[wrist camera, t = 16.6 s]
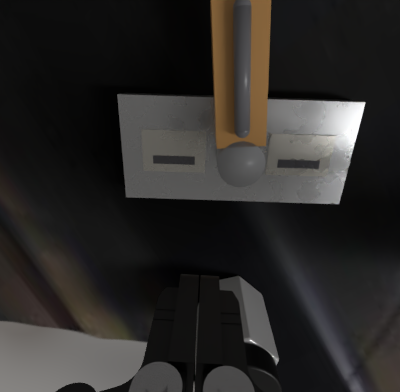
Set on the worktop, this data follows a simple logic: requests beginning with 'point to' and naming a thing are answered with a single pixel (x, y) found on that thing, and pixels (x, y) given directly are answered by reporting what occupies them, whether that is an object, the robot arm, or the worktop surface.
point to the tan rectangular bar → (240, 86)
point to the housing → (206, 149)
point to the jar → (254, 334)
